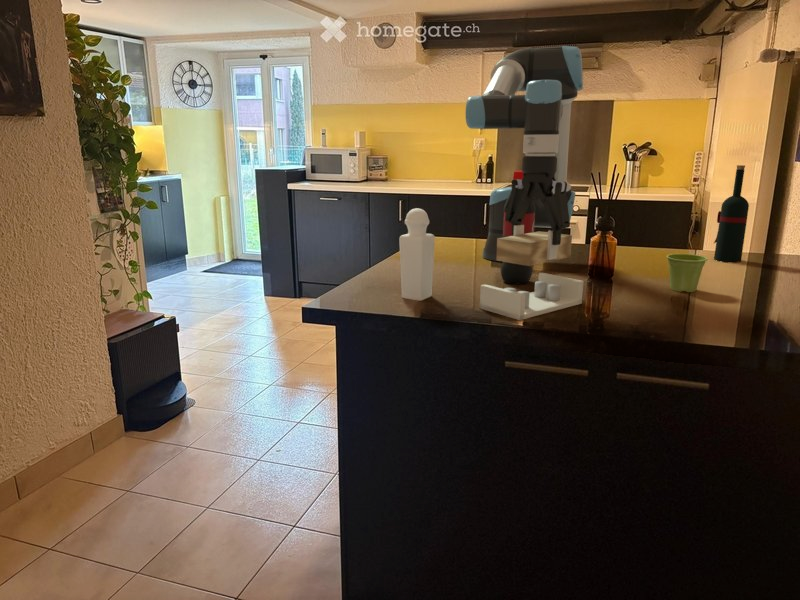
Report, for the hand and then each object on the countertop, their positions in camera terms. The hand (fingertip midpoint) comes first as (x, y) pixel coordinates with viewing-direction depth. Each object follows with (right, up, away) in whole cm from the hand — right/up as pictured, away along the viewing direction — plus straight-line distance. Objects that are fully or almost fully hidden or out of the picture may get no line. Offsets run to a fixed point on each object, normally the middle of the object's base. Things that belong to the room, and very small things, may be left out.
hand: (534, 255), depth 134 cm
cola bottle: (+1, -5, +27) cm, 28 cm away
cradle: (0, -11, +3) cm, 12 cm away
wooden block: (0, -1, 0) cm, 1 cm away
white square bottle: (-27, -10, +12) cm, 31 cm away
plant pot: (+43, -8, +18) cm, 47 cm away
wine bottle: (+75, +3, +56) cm, 94 cm away
